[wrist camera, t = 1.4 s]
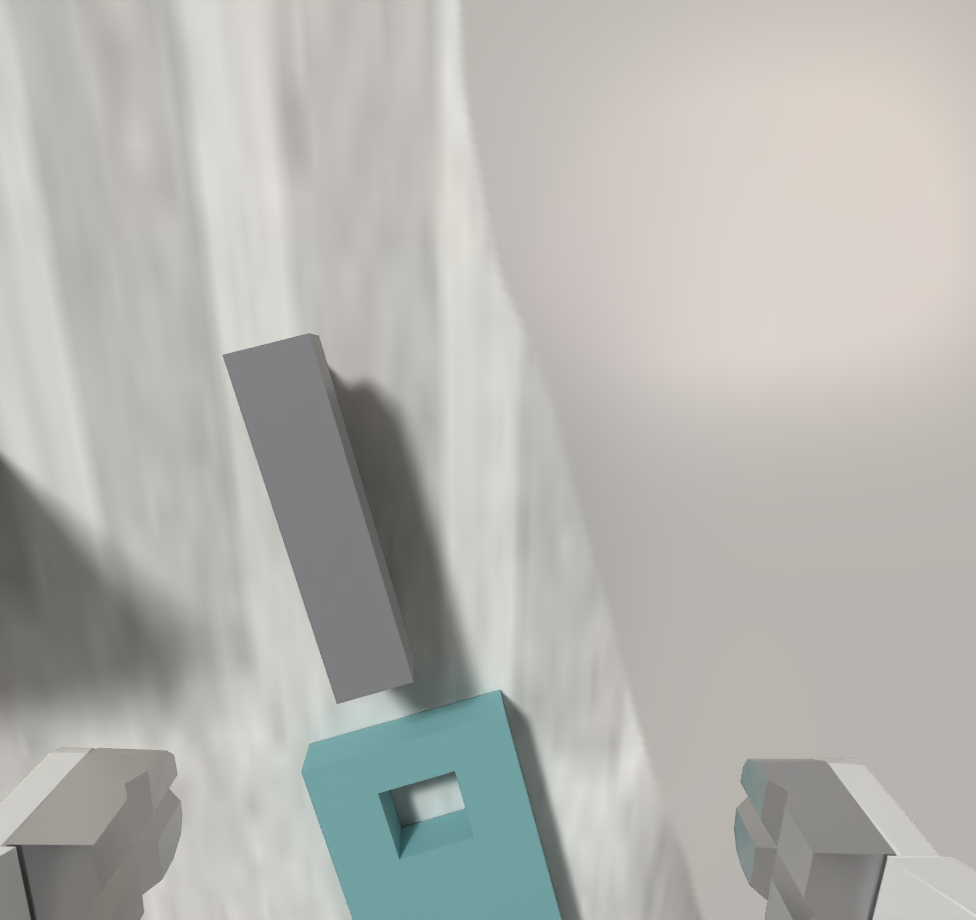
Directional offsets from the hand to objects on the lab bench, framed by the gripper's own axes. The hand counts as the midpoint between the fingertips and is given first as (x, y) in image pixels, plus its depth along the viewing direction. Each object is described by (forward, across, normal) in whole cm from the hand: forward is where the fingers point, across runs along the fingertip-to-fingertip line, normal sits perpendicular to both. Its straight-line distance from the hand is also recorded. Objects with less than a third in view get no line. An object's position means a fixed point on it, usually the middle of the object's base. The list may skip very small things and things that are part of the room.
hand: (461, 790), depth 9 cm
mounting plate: (+24, -1, -29) cm, 38 cm away
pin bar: (+26, -8, -4) cm, 27 cm away
